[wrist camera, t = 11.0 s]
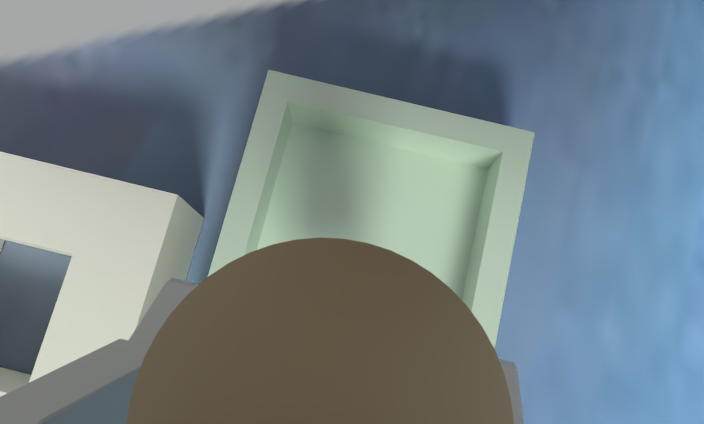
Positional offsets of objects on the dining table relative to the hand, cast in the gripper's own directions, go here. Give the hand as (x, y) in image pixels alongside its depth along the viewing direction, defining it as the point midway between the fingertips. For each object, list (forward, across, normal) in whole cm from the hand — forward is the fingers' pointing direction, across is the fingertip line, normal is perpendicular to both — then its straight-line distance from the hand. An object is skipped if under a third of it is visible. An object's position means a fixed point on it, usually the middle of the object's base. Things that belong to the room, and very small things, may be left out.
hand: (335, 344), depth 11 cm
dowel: (+5, 0, +6) cm, 7 cm away
